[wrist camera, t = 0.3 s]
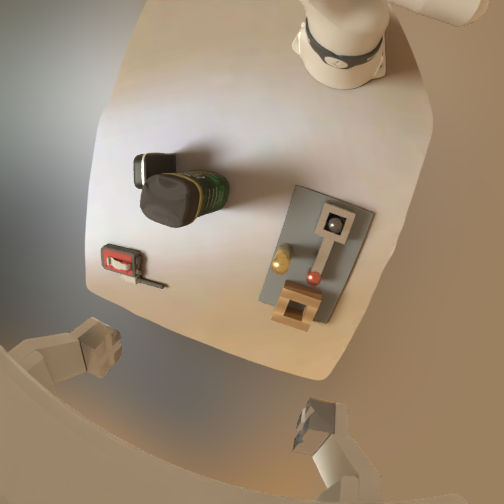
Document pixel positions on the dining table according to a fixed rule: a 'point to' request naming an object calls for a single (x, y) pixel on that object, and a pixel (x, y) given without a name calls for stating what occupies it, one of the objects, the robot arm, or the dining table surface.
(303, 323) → the slot block
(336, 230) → the post
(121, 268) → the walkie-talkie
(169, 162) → the battery charger
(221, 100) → the dining table surface
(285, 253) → the pin
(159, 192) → the coffee jar
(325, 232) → the knob socket block
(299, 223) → the mat
